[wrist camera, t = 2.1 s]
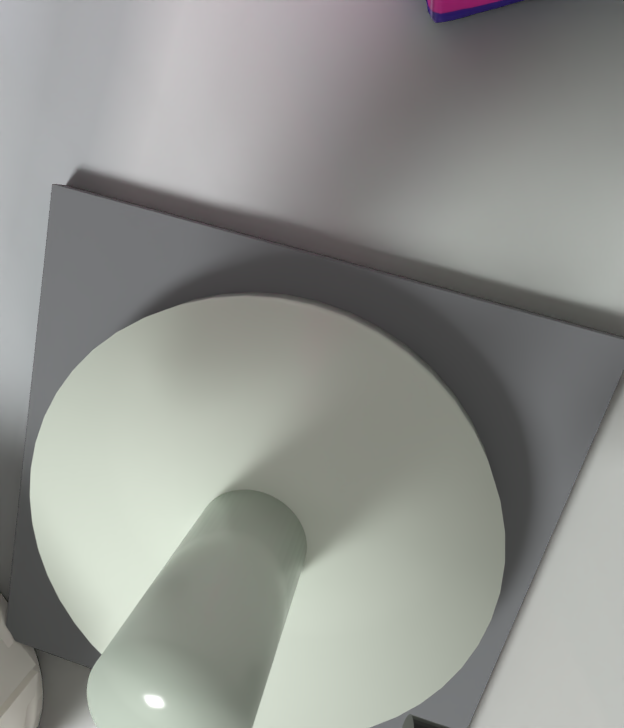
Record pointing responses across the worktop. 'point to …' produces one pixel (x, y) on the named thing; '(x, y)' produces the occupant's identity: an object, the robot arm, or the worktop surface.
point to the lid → (265, 519)
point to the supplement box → (461, 8)
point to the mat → (365, 299)
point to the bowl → (18, 680)
